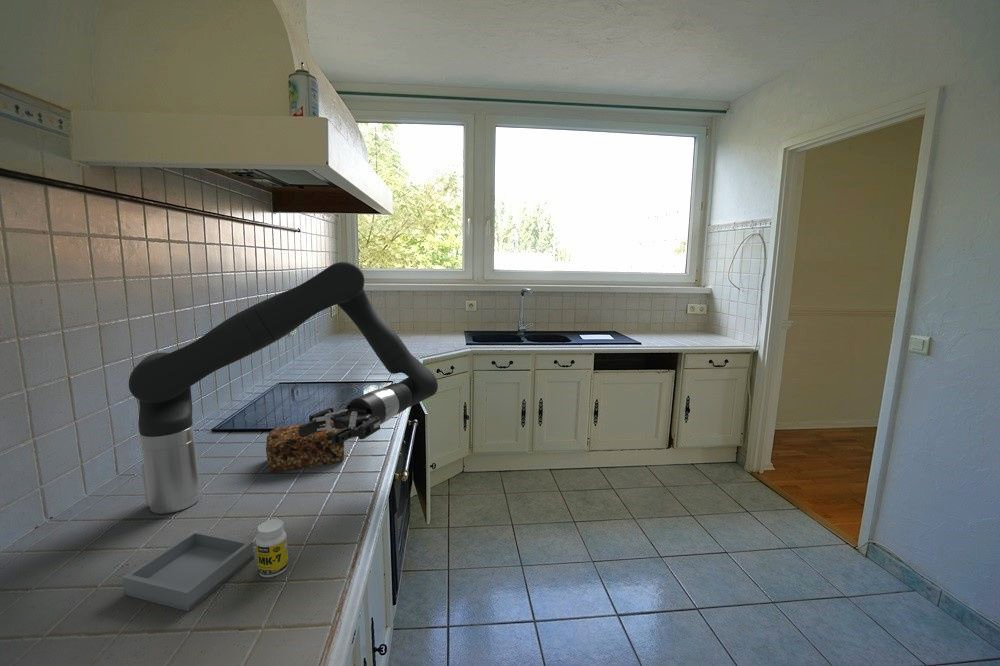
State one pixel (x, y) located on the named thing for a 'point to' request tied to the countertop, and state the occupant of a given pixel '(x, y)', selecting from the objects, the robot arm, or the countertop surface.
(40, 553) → the countertop surface
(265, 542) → the supplement bottle
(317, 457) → the bread
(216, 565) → the bin
